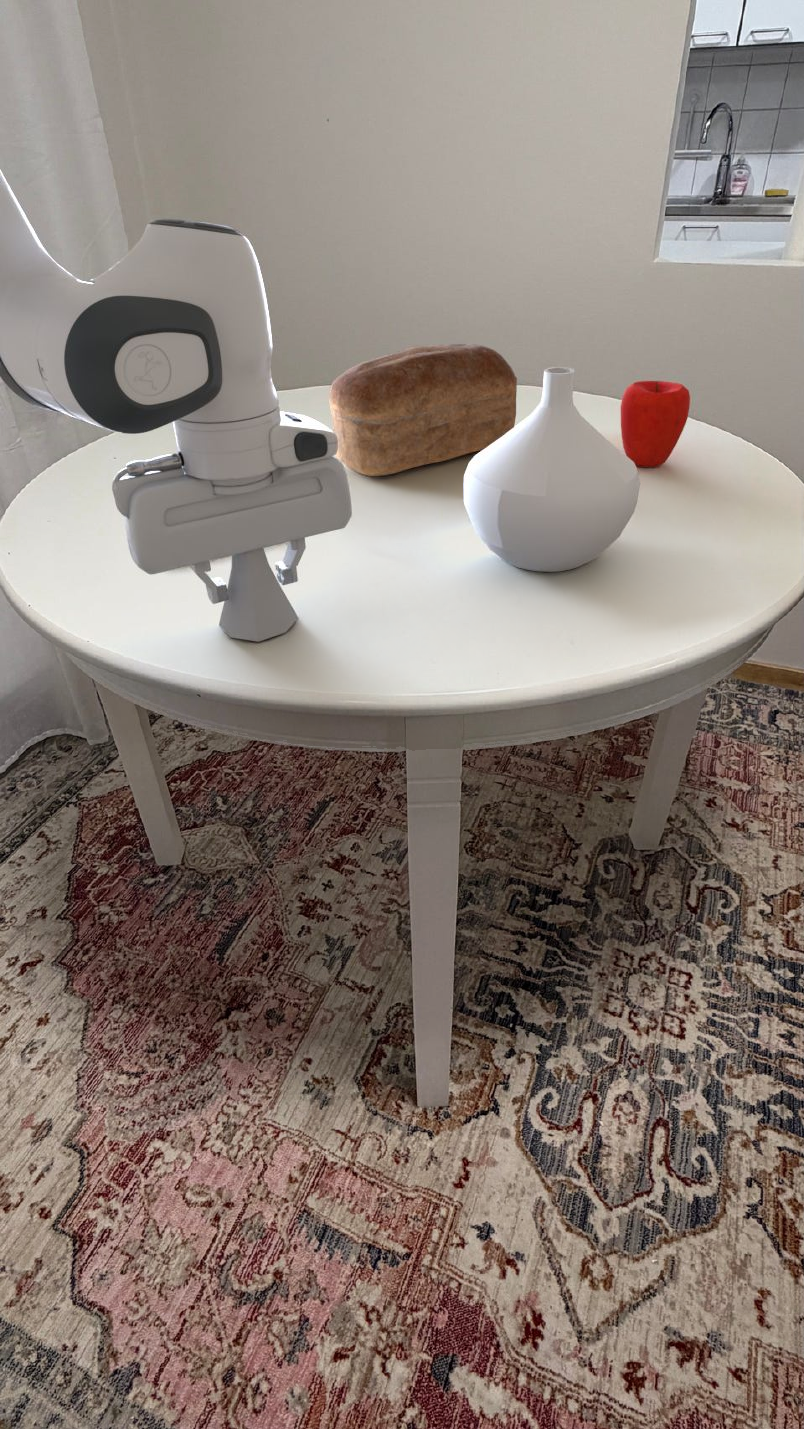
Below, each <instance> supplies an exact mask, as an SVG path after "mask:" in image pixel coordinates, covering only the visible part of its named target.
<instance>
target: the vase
mask: <svg viewBox="0 0 804 1429" xmlns="http://www.w3.org/2000/svg"><path fill="white" fill-rule="evenodd" d="M575 373H576V370H575V369H574V368H571V367H567V366H551V367H547V368H545V369H544V370H543V382H542V394H541V399H540V402H539V404H538V405H537V406H536V408H535V409H534V410H533V411H532V413H531V414H529V415H527V417H525V418H524V419H523V420H521V421H520V422H518V424H515V425H514V428H513V429H511V430H510V431H509V432H507V433H506V434H505V435H503V436H502V437H501V438H499V439H498V440H496V441H495V442H494V443H492V444H491V445H489V446H488V447H487V448H485V449H484V450H480V452H478V453H477V454H475V455H474V456H473V457H472V458H471V460H470V461H469V462H468V464H467V467H466V469H465V472H464V474H463V504H464V505H463V506H464V507H465V510H466V512H467V515H468V517H469V520H470V522H471V524H472V527H473V529H474V531H475V532H476V534H477V536H478V537H479V538H480V539H481V541H483V543H484V544H485V546H486V547H487V548H488V550H489V551H491V552H492V553H493V554H495V555H496V556H498V557H499V558H500V559H502V560H503V561H504V562H506V563H507V564H510V565H511V566H514V567H516V568H518V569H519V568H520V569H524V570H526V571H533V572H543V573H545V572H546V573H548V572H549V573H555V572H565V571H569V570H573V569H577V568H579V567H581V566H583V565H585V564H587V563H589V562H591V561H593V560H595V559H596V558H598V557H599V556H600V555H602V554H603V553H604V552H605V551H606V550H607V549H608V548H609V547H610V546H611V545H613V543H614V542H615V541H617V540H618V539H619V538H620V536H621V534H622V533H623V532H624V529H626V526H627V525H628V523H629V521H630V520H631V518H632V516H633V515H634V513H635V511H636V507H637V503H638V500H639V495H640V490H641V489H640V488H641V480H640V475H639V471H638V468H637V466H636V465H635V464H634V462H633V461H632V460H631V459H629V458H628V457H627V456H626V454H625V452H623V451H621V450H620V449H619V448H618V447H617V446H615V444H613V443H612V442H610V441H609V440H608V439H607V438H606V437H605V436H604V435H602V433H601V432H600V431H598V430H597V428H595V427H594V426H593V425H592V424H591V423H590V422H589V421H588V420H587V419H586V418H585V417H584V416H582V414H581V413H580V412H579V410H578V409H577V407H576V406H575V404H574V398H573V395H574V384H575Z"/></svg>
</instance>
